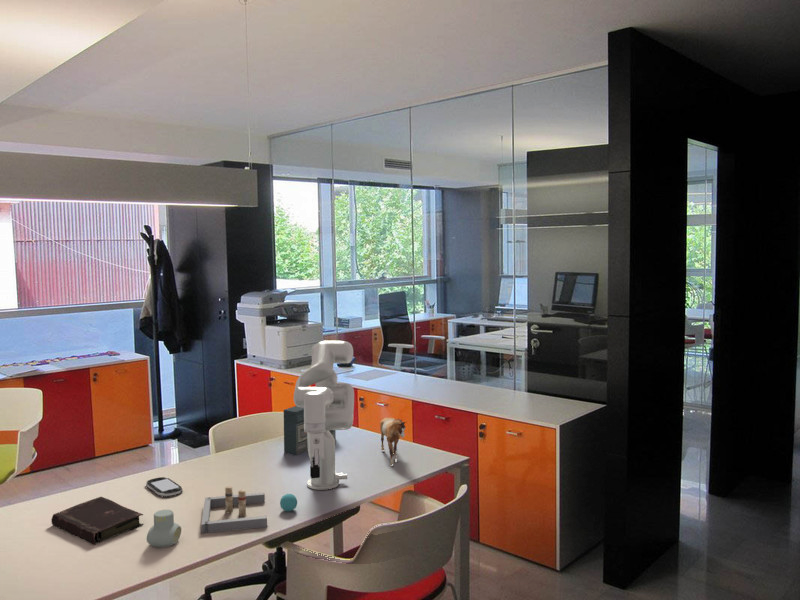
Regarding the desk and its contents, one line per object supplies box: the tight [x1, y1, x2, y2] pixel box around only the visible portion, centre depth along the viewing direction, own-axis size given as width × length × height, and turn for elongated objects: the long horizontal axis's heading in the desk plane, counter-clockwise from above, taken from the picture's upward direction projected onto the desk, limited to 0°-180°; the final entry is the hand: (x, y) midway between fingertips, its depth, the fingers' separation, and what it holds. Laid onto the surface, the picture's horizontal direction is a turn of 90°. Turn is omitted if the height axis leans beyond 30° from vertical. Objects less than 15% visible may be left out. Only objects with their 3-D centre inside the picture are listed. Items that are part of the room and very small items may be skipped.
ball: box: [279, 493, 298, 512], centre depth 229 cm, size 6×6×6 cm
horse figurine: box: [379, 416, 407, 465], centre depth 285 cm, size 31×8×21 cm, turn 10°
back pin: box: [224, 485, 234, 514], centre depth 228 cm, size 2×2×9 cm
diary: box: [51, 496, 145, 546], centre depth 217 cm, size 19×25×5 cm
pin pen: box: [200, 492, 268, 534], centre depth 224 cm, size 21×23×3 cm
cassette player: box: [283, 405, 337, 456], centre depth 302 cm, size 29×7×20 cm, turn 148°
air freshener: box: [146, 509, 182, 548], centre depth 203 cm, size 11×8×10 cm
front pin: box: [237, 489, 247, 518], centre depth 225 cm, size 2×2×9 cm
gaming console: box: [145, 476, 183, 498], centre depth 249 cm, size 19×9×2 cm, turn 42°
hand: (315, 477), depth 230 cm, fingers closed
